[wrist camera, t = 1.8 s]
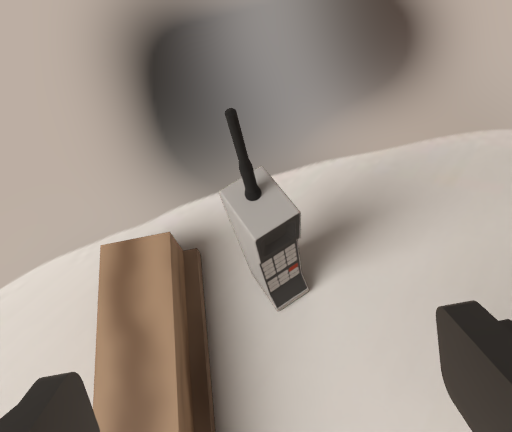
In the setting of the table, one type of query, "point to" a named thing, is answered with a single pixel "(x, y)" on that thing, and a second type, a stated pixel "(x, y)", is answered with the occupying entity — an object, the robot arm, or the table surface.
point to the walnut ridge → (152, 339)
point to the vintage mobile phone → (264, 226)
